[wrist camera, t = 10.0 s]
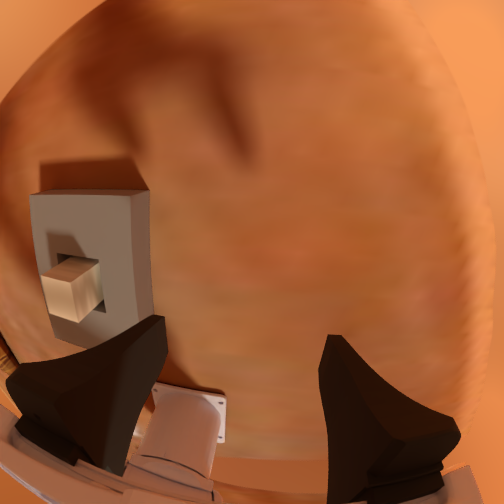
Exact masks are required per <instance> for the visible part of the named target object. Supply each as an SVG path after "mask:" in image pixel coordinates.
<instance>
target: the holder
mask: <svg viewBox="0 0 504 504" xmlns="http://www.w3.org/2000/svg"><path fill="white" fill-rule="evenodd" d="M29 200H30V214H31V225H32V234H33V241H34V248H35V255H36V261H37V267H38V272H39V277H40V282H41V286H42V291H43V295H44V299H45V303H46V307H47V311H48V314H49V318H50V321H51V325H52V328H53V331H54V335H55V338H57V339H60V340H63V341H66V342H68V343H71V344H74V345H77V346H80V347H83V348H86V349H90V348H92V347H95V346H97V345H99V344H101V343H103V342H105V341H107V340H109V339H111V338H113V337H115V336H117V335H118V334H120V333H122V332H124V331H125V330H127V329H129V328H130V327H132V326H134V325H135V324H137V323H138V322H140V321H142V320H143V319H145V318H147V317H148V316H150V315H152V314H153V315H154V307H153V295H152V282H151V264H150V237H149V190H123V189H51V190H47V191H43V192H39V193H35V194H31V195H29ZM72 256H80V257H86V258H93V259H99V267H100V275H101V283H102V290H103V296H104V299H103V300H102V301H101V302H100V303H99V304H98V305H97V306H96V307H95V308H94V309H93V310H92V311H91V312H89V313H88V314H87V315H86V316H85V317H84V318H83V319H82V320H81V321H80V322H79V323H77V322H74V321H71V320H68V319H65V318H62V317H59V316H56V315H53V314H50V313H49V310H48V306H47V302H46V298H45V293H44V289H43V284H42V279H41V275H42V274H44V273H45V272H47V271H48V270H50V269H52V268H53V267H55V266H57V265H58V264H60V263H62V262H63V261H65V260H67V259H68V258H70V257H72Z"/></svg>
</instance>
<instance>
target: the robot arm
mask: <svg viewBox="0 0 504 504" xmlns="http://www.w3.org/2000/svg"><path fill="white" fill-rule="evenodd" d="M167 354H168V346H167V337H166V327H165V317H164V316H159V315H153V314H152V315H150V316H148V317H147V318H145V319H143V320H142V321H140V322H138V323H137V324H135V325H134V326H132V327H130V328H129V329H127V330H125V331H124V332H122V333H120V334H118V335H117V336H115V337H113V338H111V339H109V340H107V341H105V342H103V343H101V344H99V345H97V346H95V347H92V348H90V349H88V350H85V351H82V352H79V353H76V354H73V355H70V356H66V357H62V358H58V359H53V360H48V361H41V362H31V363H21V364H20V365H19V366H18V367H17V368H16V369H15V371H14V372H13V373H12V374H11V375H10V376H9V377H8V378H7V379H6V387H7V390H8V392H9V394H10V396H11V398H12V399H13V401H14V402H15V404H16V406H17V407H18V409H19V410H20V412H21V413H22V416H21V418H20V419H19V418H18V417H17V416H16V415H14V414H13V413H12V412H11V411H9V410H8V409H7V408H5V407H4V406H3V405H1V404H0V467H1V468H2V469H3V470H4V471H6V472H7V473H8V474H9V475H11V476H12V477H13V478H14V479H15V480H17V481H18V482H19V483H21V484H22V485H23V486H25V487H26V488H27V489H29V490H30V491H31V492H33V493H34V494H36V495H37V496H38V497H40V498H41V499H43V500H44V501H46V502H48V503H49V504H230V503H224V502H223V499H222V497H221V496H220V493H219V492H218V491H216V490H212V489H213V483H214V481H212V480H209V478H210V473H211V468H212V464H213V459H214V454H215V449H216V444H217V443H224V442H225V423H226V396H224V395H221V394H215V393H208V392H202V391H197V390H191V389H186V388H181V387H176V386H171V385H167V384H162V383H158V382H156V380H157V378H158V376H159V374H160V372H161V370H162V368H163V365H164V363H165V360H166V357H167ZM318 373H319V389H320V394H321V400H322V405H323V410H324V415H325V421H326V426H327V434H328V459H329V471H328V473H329V474H328V494H327V504H483V501H482V499H481V495H480V492H479V489H478V487H477V484H476V481H475V478H474V476H473V473H472V471H471V468H470V466H469V465H467V466H465V467H462V468H460V469H457V470H455V471H452V472H449V473H447V474H446V475H444V476H442V475H441V472H440V471H441V470H443V467H444V466H443V464H442V460H443V459H444V458H445V457H446V456H447V455H448V454H449V453H450V452H451V451H452V450H453V449H454V448H455V447H456V445H457V444H458V442H459V440H460V438H461V433H460V431H459V429H458V427H457V425H456V423H455V421H454V419H453V418H452V417H450V416H447V415H444V414H441V413H439V412H436V411H434V410H431V409H429V408H427V407H425V406H423V405H421V404H419V403H417V402H415V401H414V400H412V399H410V398H409V397H407V396H406V395H404V394H402V393H401V392H399V391H398V390H397V389H395V388H394V387H393V386H391V385H390V384H389V383H388V382H386V381H385V380H384V379H383V378H382V377H380V376H379V375H378V374H377V373H376V372H375V371H374V370H373V369H372V368H371V367H370V366H369V365H368V364H367V363H366V362H365V361H364V360H363V359H362V358H361V357H360V356H359V355H358V353H357V352H356V351H355V350H354V349H353V348H352V347H351V345H350V344H349V343H348V342H347V341H346V340H345V339H344V338H343V336H342V335H329V334H328V336H327V340H326V343H325V347H324V351H323V354H322V358H321V361H320V365H319V368H318ZM151 390H152V395H153V399H154V403H155V410H154V412H153V415H152V417H151V419H150V421H149V424H148V426H147V428H146V431H145V433H144V435H143V438H142V440H141V442H140V445H139V447H138V449H137V452H136V454H135V453H133V455H132V457H131V460H130V462H129V460H127V459H126V457H127V453H128V449H129V446H130V442H131V439H132V436H133V432H134V429H135V426H136V423H137V420H138V418H139V415H140V412H141V410H142V408H143V405H144V403H145V401H146V399H147V397H148V396H149V394H150V392H151Z"/></svg>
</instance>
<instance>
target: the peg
mask: <svg viewBox="0 0 504 504" xmlns="http://www.w3.org/2000/svg"><path fill="white" fill-rule="evenodd" d="M41 279H42V284H43V289H44V293H45V298H46V302H47V306H48V310H49V313H50V314H53V315H56V316H59V317H62V318H65V319H68V320H71V321H74V322H77V323H79V322H80V321H81V320H82V319H83V318H84V317H85V316H86V315H87V314H88V313H89V312H91V311H92V310H93V309H94V308H95V307H96V306H97V305H98V304H99V303H100V302H101V301H102V300H103V299H104V296H103V290H102V283H101V275H100V267H99V259H93V258H86V257H80V256H72V257H70V258H68V259H67V260H65V261H63V262H62V263H60V264H58V265H57V266H55V267H53V268H52V269H50V270H48V271H47V272H45V273H44V274H42V275H41Z"/></svg>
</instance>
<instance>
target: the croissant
mask: <svg viewBox="0 0 504 504" xmlns="http://www.w3.org/2000/svg"><path fill="white" fill-rule="evenodd" d="M18 366H19V363H18V362H17V360H16V358H15V357H14V356H13V354H12V353H11V351H10V350H9V348H8V346H7V345H6V343H5V341H4V339H3V338H2V337H1V336H0V369H1V370H2V371H4V372H5V373H7V374H8V375H11V374H12V373H13V372H14V371H15V369H16V368H17V367H18Z"/></svg>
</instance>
